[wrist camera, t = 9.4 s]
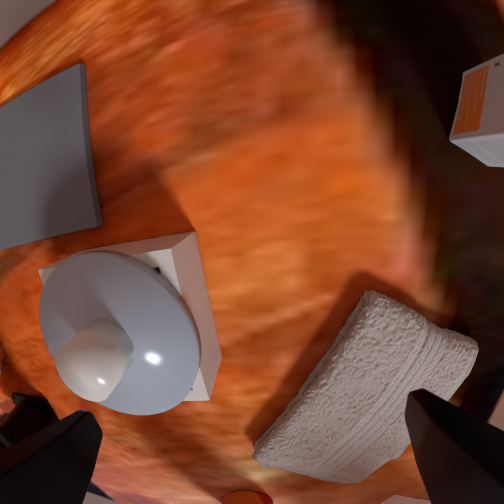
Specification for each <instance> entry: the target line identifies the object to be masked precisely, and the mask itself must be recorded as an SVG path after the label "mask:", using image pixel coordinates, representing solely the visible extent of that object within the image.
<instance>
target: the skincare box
mask: <svg viewBox="0 0 504 504" xmlns="http://www.w3.org/2000/svg"><path fill="white" fill-rule="evenodd" d="M449 140H450V141H451V142H452V143H454V144H456V145H457V146H459V147H461V148H462V149H464V150H465V151H467V152H468V153H470V154H471V155H473V156H474V157H476V158H477V159H478V160H480V161H481V162H483V163H484V164H485V165H487V166H491V167H504V54H502V55H500V56H498V57H495V58H493V59H491V60H489V61H486V62H484V63H482V64H480V65H478V66H476V67H474V68H471V69H470V70H467V71H465V72H464V73H463V77H462V85H461V89H460V95H459V100H458V106H457V110H456V114H455V118H454V121H453V125H452V129H451V133H450V136H449Z"/></svg>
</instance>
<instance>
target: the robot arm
mask: <svg viewBox="0 0 504 504" xmlns="http://www.w3.org/2000/svg"><path fill="white" fill-rule="evenodd" d="M11 397H12V399H13V400H14V402H15V404H16V406H15V407H14V409H13V410H12V411H11V412H10V413H9V414H8V415H7V416H6V417H5V418H4V419H3V420H2V421H1V422H0V504H82V503H83V501H84V498H85V495H86V492H87V489H88V487H89V484H90V481H91V478H92V475H93V472H94V468H95V464H96V460H97V456H98V452H99V448H100V445H101V441H102V437H103V433H102V430H101V428H100V426H99V424H98V422H97V420H96V419H95V417H94V415H93V413H91V412H90V411H85V410H78V411H76V412H74V413H72V414H71V415H69V416H67V417H65V418H63V419H61V420H60V421H58V420H57V418H56V416H55V414H54V413H53V411H52V409H51V407H50V405H49V404H48V402H47V401H46V400H45V399H42V398H37V397H32V396H28V395H23V394H19V393H14V392H13V393H12V394H11ZM405 422H406V426H407V429H408V433H409V437H410V441H411V444H412V448H413V452H414V456H415V460H416V464H417V467H418V470H419V472H420V475H421V478H422V480H423V483H424V485H425V488H426V491H427V493H428V496H429V499H430V502H431V504H504V431H503V430H501V429H499V428H497V427H495V426H493V425H491V424H489V423H487V422H485V421H483V420H481V419H480V418H478V417H476V416H474V415H472V414H470V413H468V412H466V411H465V410H463V409H461V408H459V407H457V406H455V405H453V404H452V403H450V402H448V401H446V400H444V399H442V398H441V397H439V396H437V395H435V394H433V393H432V392H430V391H428V390H426V389H424V388H420V389H417V390H413V391H410V392H409V394H408V396H407V403H406V409H405Z"/></svg>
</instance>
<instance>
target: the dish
mask: <svg viewBox="0 0 504 504" xmlns="http://www.w3.org/2000/svg"><path fill="white" fill-rule="evenodd" d="M94 250H112V251H117V252H121V253H125V254H127V255H130V256H133V257H135V258H137V259H139V260H141V261H143V262H145V263H147V264H148V265H150V266H151V267H153V268H154V269H156V270H157V271H158V272H159V273H160V274H162V275H163V276H164V277H165V278H166V279H167V280H168V281H169V282H170V283H171V284H172V285H173V286H174V287H175V288H176V289H177V291H178V292H179V293H180V295H181V296H182V297H183V299H184V300H185V302H186V303H187V305H188V307H189V308H190V310H191V312H192V315H193V317H194V319H195V321H196V324H197V327H198V330H199V335H200V340H201V352H202V354H201V363H200V367H199V371H198V374H197V376H196V379H195V382H194V384H193V386H192V388H191V390H190V392H189V393H188V395H187V396H186V397H185V398H184V399H183V400H182V401H206V400H210V397H211V393H212V390H213V386H214V383H215V379H216V376H217V372H218V369H219V365H220V362H221V358H222V354H221V350H220V346H219V341H218V337H217V333H216V328H215V324H214V319H213V315H212V310H211V305H210V301H209V296H208V291H207V286H206V282H205V277H204V272H203V267H202V262H201V257H200V252H199V246H198V241H197V236H196V231H192V232H186V233H180V234H174V235H168V236H162V237H156V238H150V239H144V240H138V241H132V242H127V243H121V244H115V245H110V246H104V247H99V248H93V249H88V250H83V251H79V252H77V253H75V254H72V255H70V256H68V257H66V258H63V259H61V260H59V261H57V262H54V263H52V264H50V265H48V266H46V267H44V268H41V269H39V274H40V277H41V281H42V284H43V287H44V285H45V282H46V280H47V279H48V277H49V276H50V274H51V273H52V272H53V271H54V270H55V268H56V267H58V266H59V265H60V264H62V263H63V262H65V261H67V260H69V259H71V258H73V257H75V256H77V255H79V254H82V253H85V252H89V251H94Z"/></svg>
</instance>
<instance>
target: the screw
mask: <svg viewBox="0 0 504 504" xmlns="http://www.w3.org/2000/svg"><path fill="white" fill-rule="evenodd" d="M4 357H5V354H4V350H3V347H2V345H1V344H0V375H1V374H2V364H1V360H2V359H3V358H4Z"/></svg>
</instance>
